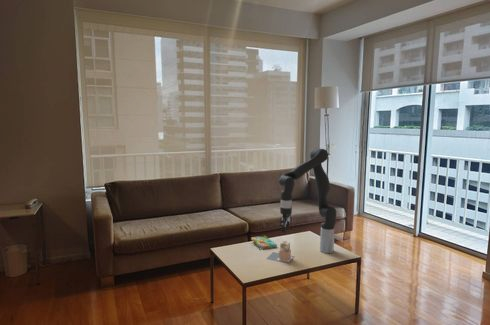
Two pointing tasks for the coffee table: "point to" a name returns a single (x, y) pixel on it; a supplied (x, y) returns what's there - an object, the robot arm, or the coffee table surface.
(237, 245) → the coffee table surface
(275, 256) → the blueprint board
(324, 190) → the robot arm
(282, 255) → the terracotta base block
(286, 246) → the maple cube
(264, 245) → the puzzle game
